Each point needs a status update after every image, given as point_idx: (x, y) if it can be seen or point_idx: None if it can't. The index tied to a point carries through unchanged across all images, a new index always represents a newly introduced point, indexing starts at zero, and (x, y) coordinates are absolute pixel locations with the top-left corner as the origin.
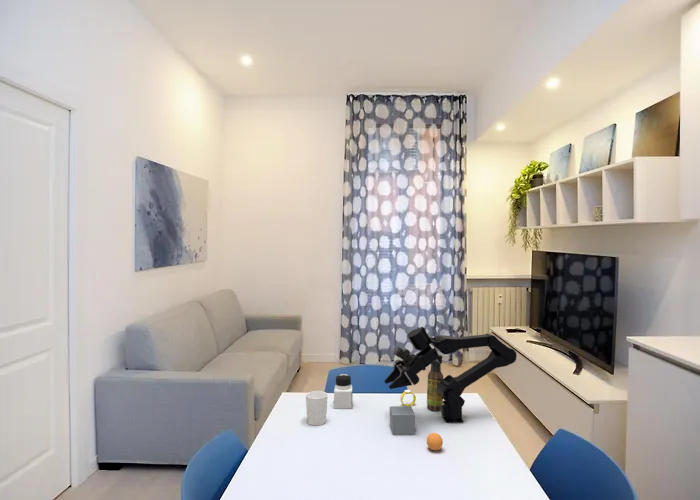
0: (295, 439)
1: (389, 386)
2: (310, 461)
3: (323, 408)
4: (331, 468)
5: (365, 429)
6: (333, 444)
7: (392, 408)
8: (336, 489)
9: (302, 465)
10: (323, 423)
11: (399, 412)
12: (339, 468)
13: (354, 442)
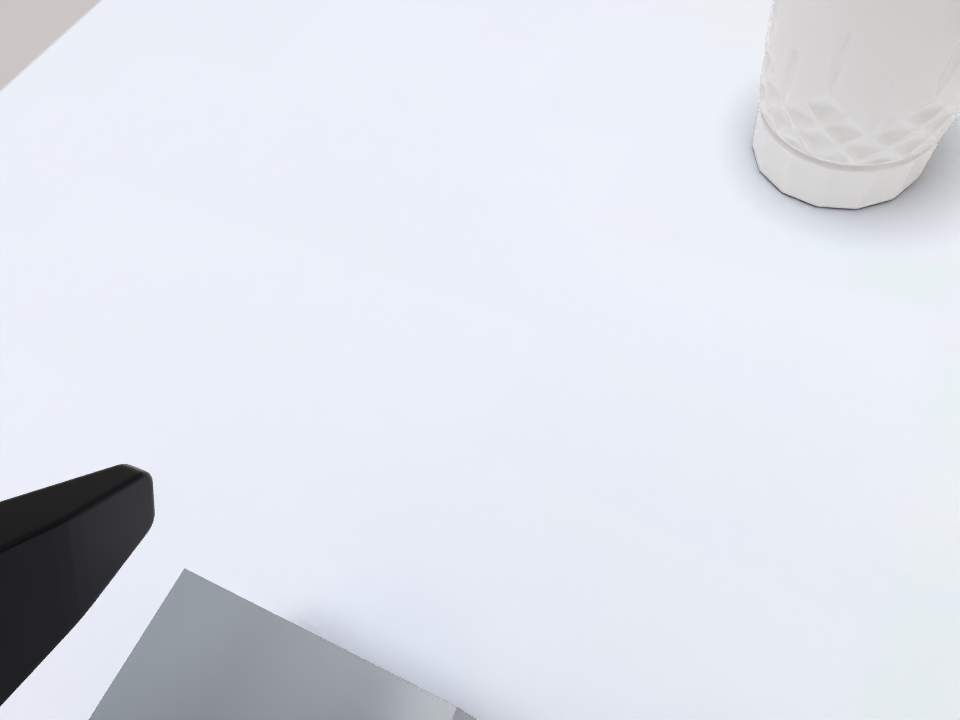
0: (592, 15)
1: (116, 473)
2: (311, 43)
3: (781, 58)
4: (187, 105)
5: (526, 445)
6: (415, 167)
7: (362, 702)
8: (35, 89)
9: (300, 13)
10: (768, 175)
11: (187, 716)
12: (160, 134)
13: (364, 285)
